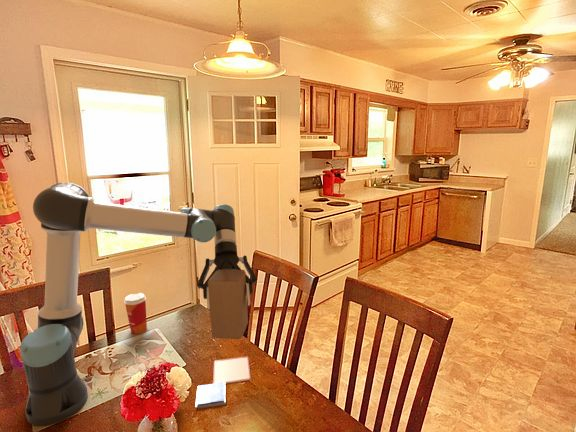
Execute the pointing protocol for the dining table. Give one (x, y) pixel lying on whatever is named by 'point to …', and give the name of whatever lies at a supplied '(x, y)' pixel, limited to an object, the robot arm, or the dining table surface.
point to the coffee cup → (136, 312)
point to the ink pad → (210, 395)
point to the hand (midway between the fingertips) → (229, 306)
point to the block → (228, 303)
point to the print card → (231, 370)
